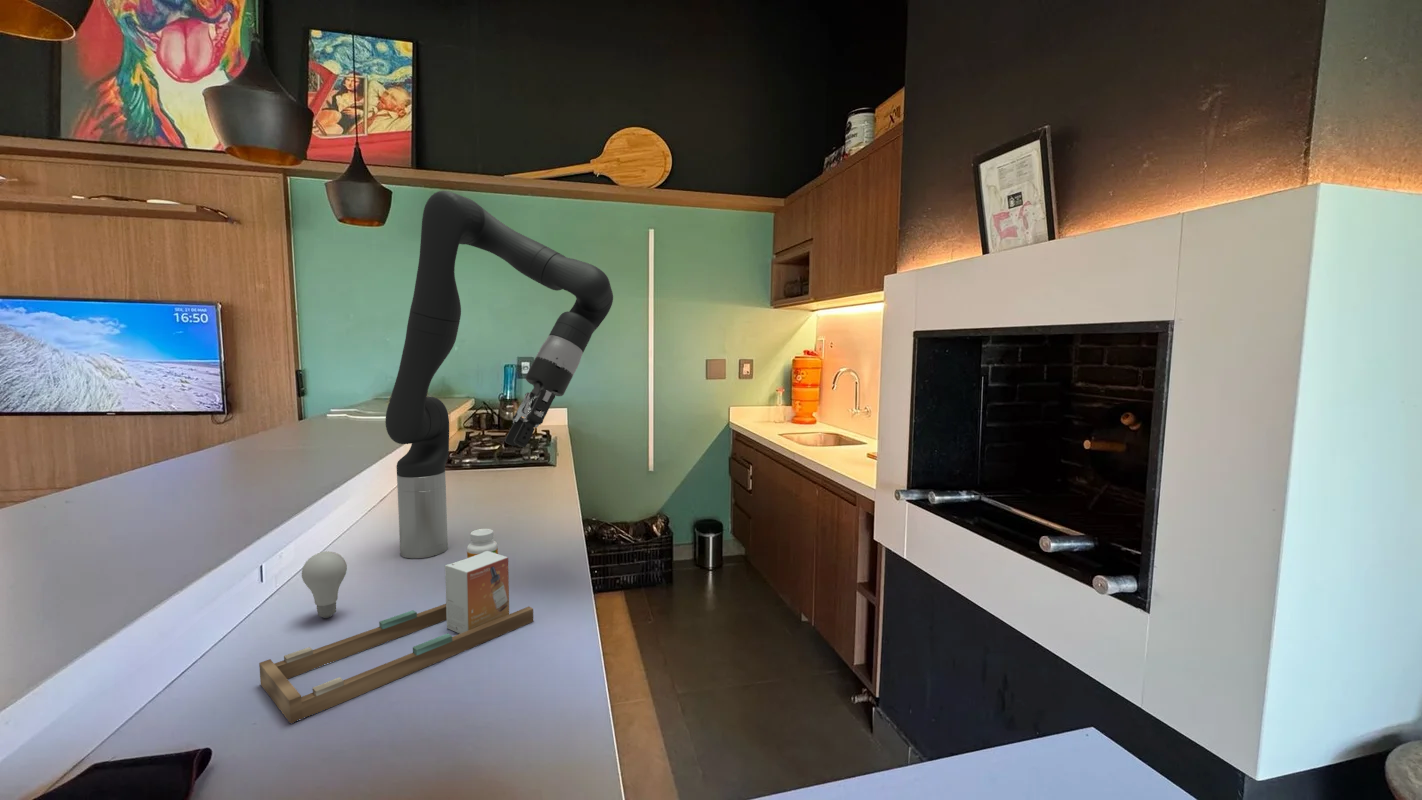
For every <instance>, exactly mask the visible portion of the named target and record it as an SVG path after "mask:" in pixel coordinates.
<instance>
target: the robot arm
mask: <svg viewBox="0 0 1422 800" xmlns="http://www.w3.org/2000/svg"><path fill="white" fill-rule="evenodd" d="M420 232H421V233H420V244H419V245H420V246H419V257H418V258H419V259H418V266H417V271H416V278H415V284H414V291H413V296H412V301H411V305H410V308H409V315H408V321H407V325H406V332H405V333H406V334H405V339H404V344H403V348H402V352H401V353H402V354H401V359H400V361H399V362H400V363H399V368H398V372H397V375H396V379H395V381H394V385H393V388H392V391H391V392H392V393H391V395H390V397H389V398H390V399H389V402H388V404H387V409H386V412H385V421H384V422H385V429H386V433H387V434H388V437H389V438H390V439H391V440H392V441H393V442H395V443H396V444H399V445H410V448H409V450H408V451H407V453H406V454H405V455H404V456H402V457H401V458H399V460H397V462H396V483H397V485H396V488H397V505H398V506H397V508H398V528H399V530H398V532H399V552H400V553H399V555H400V556H402V558H403V557H404V558H406V559H407V558H408V559H423V558H430V557H433V556H434V555H435V556H438V555H441V554H442V553H444V552H446V551H447V550H448V548H449V547H448V545H449V544H448V542H449V541H448V515H447V514H448V511H447V509H448V508H447V483H446V482H447V481H446V463H447V461H448V458H449V455H450V454H449V452H450V417H449V413H448V409H447V407H446V405H445V404H444V403H443V401H442V400H440V399H439V398H436V397H435V396H428V393H429V388H430V385H431V382H432V381H433V378H434V376H435V374H436V373H437V372H438V370H439V368H440V367H441V366H442V364H443V363H444V362H445V360H446V359H447V357H448V356H449V354H450V353H451V352H452V350H453V348H454V346H455V342H456V340H457V336H458V333H459V327H460V322H461V321H460V320H461V317H462V315H461V314H462V307H461V306H462V305H461V299H460V296H459V291H458V287H457V282H456V276H455V271H456V270H455V266H456V259H457V254H458V249H459V245H467V246H470V247H474V248H478V249H480V250H483V251H486V252H488V253H491V254H493V255H495V256H497V257H499V258H500V259H502V260H503V261H505V262H506V263H508V265H510V266H511V267H512V268H513V269H515V270H516V271H518V272H519V273H520V274H522V275H524V276H525V277H527V278H529V279H531V280H533V281H535V282H536V283H538V284H540V285H542V286H544V287H546V288H548V289H550V290H552V291H556V292H557V291H561V290H562V291H563V290H564V291H566V292H568V293H570V294H572V295H574V297H575V298H576V299H575V302H574V304H573V306H571V309H569V311H564V312H562V313H561V314H560V315H559V316H558V318H557V319H556V321H555V323H554V326H553V327H552V328H551V331H550V333H549V334H548V336H547V337H546V339H545V341H544V342H543V343H542V345H541V347H540V348H539V351H538V352H537V354H536V356H535V358H534V360H533V361H532V363H531V365H530V367H529V369H528V371H527V373H526V375H525V380H526V382H527V383H528V384H530V385H532V386H533V389H532V390H531V391H530V392H528V391H527V392H526V393H525V394H524V397H523V399H522V401H521V403H520V405H519V406H518V408H517V410H516V412H515V414H514V415H513V416H512V425H511V427H510V429H509V431H508V433H507V435H506V437H505V438H504V442H505V443H506V444H508V445H511V446H512V447H514V446H515V447H516V446H519V447H521V448H526V447H527V445H528V443H529V441H530V439H531V438H532V436H533V433H534V432H535V429H537V428H538V427H539V426H541V425H542V424H543V422H544V420H545V417H546V416H547V414H548V411H549V409H550V408H551V405H552V403H553V401H554V400H555V399H556V397H563V396H564V395H565V393H566V391H567V389H568V387H569V384H570V383H571V381H572V379H573V377H574V375H575V373H576V371H577V369H578V366H579V365H580V363H581V359H582V356H583V354H584V352H585V350H586V348H587V346H588V344H589V342H590V341H591V338H592V337H593V336H592V335H593V333H595V331H596V330H597V329H598V328H599V327H600V325H601V324H602V323H603V321H604V320H605V319H606V317H607V315H608V314H609V312H610V310H611V308H612V306H613V302H614V294H613V290H612V286H611V283H610V279H609V277H608V275H607V274H606V273H605V272H604V271H603V270H601V269H600V268H598V267H597V266H596V265H593V264H592V263H588V262H585V261H583V260H578V259H575V258H570V257H566V255H564V254H562V253H560V252H558V251H556V250H554V249H552V248H551V247H548V246H546V245H544V244H543V243H540V242H539V241H537V240H535V239H531V238H530V237H528V236H525V235H524V234H522V233H520V232H518V231H516V230H514V229H513V228H511V227H509V226H508V225H506V224H504V223H503V222H502V221H500V220H499V219H497V218H496V217H495V216H494V215H492V214H491V213H490V212H488V211H487V210H486V209H485V208H483V207H482V206H481V205H480V204H478V203H477V202H476V201H474V200H473V199H471V198H468V197H466V196H463V195H460V194H457V193H454V192H452V191H448V190H439V191H437V192H434V193H433V194H432V195H431V196H430V197H429V198H428V199H427V202H426V203H425V204H424V208H423V213H422V219H421V230H420ZM435 556H434V557H435Z"/></svg>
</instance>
